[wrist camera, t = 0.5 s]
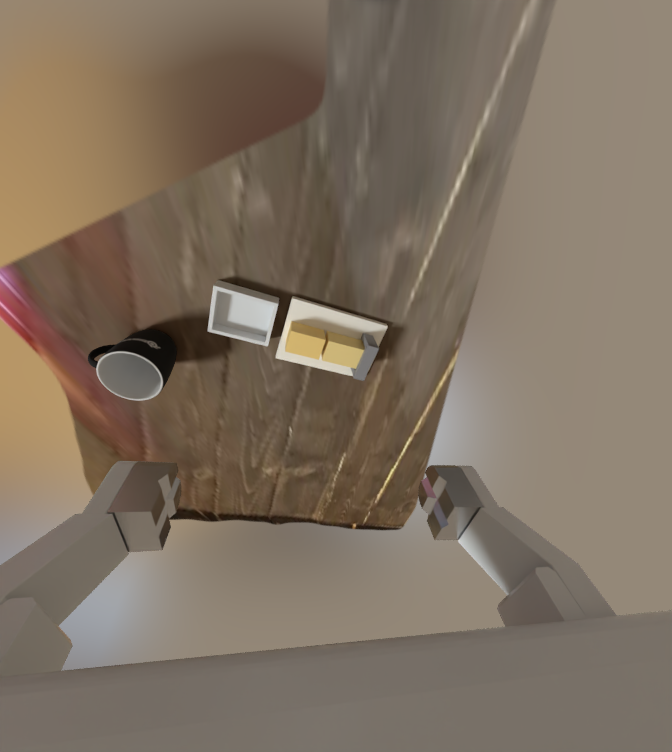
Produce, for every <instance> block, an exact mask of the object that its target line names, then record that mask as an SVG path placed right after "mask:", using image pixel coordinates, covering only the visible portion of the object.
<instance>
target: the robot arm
mask: <svg viewBox="0 0 672 752" xmlns="http://www.w3.org/2000/svg"><path fill="white" fill-rule="evenodd" d="M177 473H178V467H177V463H167V462H140V461H138V462H137V461H118V462H117V463H116V464H115V465H113V466H112V468H111V470H110V471H109V473H108V474H107V476H106V477H105V479H104V480H103V482H102V483H101V485H100V487H99V488H98V490H97V491H96V493H95V494H94V496H93V497H92V499H91V501H90V502H89V504H88V505H87V507H86V508H85V510H84V512H83V513H82V514H75V515H73V516H72V517H70V518H69V519H67V520H66V521H65V522H63V523H62V524H60V525H59V526H57V527H56V528H54V529H53V530H51V531H50V532H48V533H47V534H46V535H44V536H43V537H41V538H40V539H38V540H37V541H35V542H34V543H32V544H31V545H30V546H28V547H27V548H25V549H24V550H22V551H21V552H19V553H18V554H16V555H15V556H13V557H12V558H10V559H9V560H8V561H6V562H5V563H3V564H2V565H0V752H672V610H669V611H658V612H649V613H638V614H628V615H619V616H617V615H616V614H615V613H614V611H613V610H612V609H611V607H610V606H609V605H608V603H607V602H606V601H605V599H604V598H603V597H602V595H601V594H600V592H599V591H598V590H597V588H596V587H595V586H594V585H593V583H592V582H591V580H590V579H589V578H588V576H587V575H586V574H585V572H584V571H583V570H582V568H581V567H580V565H579V564H578V563H576V562H575V561H574V560H572V559H571V558H570V557H568V556H567V555H566V554H564V553H563V552H562V551H560V550H559V549H558V548H556V547H555V546H554V545H552V544H551V543H550V542H548V541H547V540H546V539H545V538H543V537H542V536H541V535H539V534H538V533H537V532H535V531H534V530H533V529H531V528H530V527H528V526H527V525H526V524H525V523H523V522H522V521H521V520H519V519H518V518H517V517H515V516H514V515H513V514H511V513H510V512H508V511H507V510H506V509H505V508H503V507H499V506H498V505H497V503H496V502H495V500H494V499H493V497H492V495H491V494H490V492H489V491H488V489H487V488H486V486H485V485H484V483H483V481H482V480H481V478H480V476H479V475H478V474H477V472H476V470H475V469H474V468H473V467H472V466H455V465H453V466H451V465H447V466H445V465H442V466H441V465H437V466H436V465H435V466H434V465H432V466H429V467H428V468H427V470H426V472H425V473H426V475H427V477H426V478H425V479H423V480H422V481H421V483H420V485H419V490H418V496H419V501H420V504H421V507H422V509H423V510H424V511H426V513H428V514H429V515H428V519H427V522H428V524H429V527H430V529H431V532H432V535H433V537H434V540H458V542H459V543H460V544H461V545H462V546H463V547H464V548H465V550H466V551H467V552H468V553H469V554H470V555H471V556H472V557H473V558H474V559H475V560H476V561H477V563H478V564H479V565H480V566H481V567H482V568H483V569H484V570H485V571H486V572H487V573H488V575H489V576H490V577H491V578H492V579H493V580H494V581H495V582H496V583H497V584H498V585H499V587H500V588H501V589H502V590H503V591H504V592H505V593H506V594H507V596H506V598H504V599H503V600H502V601H501V602H500V603H499V605H498V608H497V609H498V611H499V614H500V616H501V618H502V620H503V622H504V624H505V627H497V628H487V629H477V630H467V631H457V632H448V633H437V634H427V635H417V636H407V637H397V638H386V639H376V640H368V641H367V640H366V641H357V642H347V643H336V644H326V645H316V646H307V647H296V648H286V649H276V650H266V651H257V652H245V653H237V654H226V655H216V656H206V657H195V658H185V659H176V660H165V661H156V662H145V663H136V664H125V665H115V666H104V667H95V668H84V669H74V670H64V671H61V669H62V667H63V665H64V663H65V661H66V659H67V657H68V654H69V652H70V650H71V648H72V643H71V640H70V639H69V638H68V637H67V635H66V634H65V633H64V632H63V631H62V630H61V629H60V627H59V625H60V624H61V623H62V622H63V621H64V620H65V619H66V618H67V617H68V616H69V615H70V614H71V612H73V611H74V610H75V609H76V607H77V606H78V605H79V604H80V603H81V602H82V601H83V600H84V599H85V598H86V597H87V596H88V595H89V594H90V593H91V592H92V591H93V590H94V589H95V588H96V587H97V586H98V585H99V584H100V583H101V582H102V581H103V580H104V579H105V578H106V577H107V576H108V575H109V574H110V573H111V571H113V570H114V569H115V568H116V567H117V566H118V565H119V564H120V562H121V561H123V560H124V558H125V557H126V556H127V555H128V554H129V553H128V552H140V551H155V550H163V547H164V544H165V542H166V539H167V536H168V533H169V530H170V528H171V526H170V521H169V518H170V517H171V516H172V515H174V514H175V513H176V511H177V508H178V505H179V502H180V496H181V481H180V480H179V479H178V478H177V477H176V476H177Z"/></svg>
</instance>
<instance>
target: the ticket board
mask: <svg viewBox="0 0 672 752" xmlns="http://www.w3.org/2000/svg"><path fill="white" fill-rule="evenodd" d="M291 321H293V322H297V323H300V324H304V325H308V326H311V327H315V328H319V329H322V330H324V333H325V338H326V341H325V344H324V347H323V349H322V352H321V355H320V358H319V360H318V359H314V358H309V357H305V356H301V355H297V354H293V353H289V352H285V345H286V338H287V335H288V331H289V328H290V324H291ZM387 328H388V326H387V324H385V323H382V322H379V321H375V320H372V319H368V318H365V317H362V316H358V315H355V314H352V313H348V312H345V311H342V310H338V309H335V308H332V307H328V306H325V305H322V304H318V303H315V302H311V301H308V300H305V299H301V298H298V297H295V296H292V299H291V302H290V306H289V310H288V313H287V317H286V321H285V324H284V328H283V331H282V335H281V339H280V342H279V346H278V350H277V353H276V358H278V359H282V360H286V361H290V362H295V363H299V364H303V365H307V366H312V367H316V368H320V369H324V370H329V371H333V372H337V373H341V374H346V375H350V376H353V378H354V379H358V380H362V381H364V379H365V377H366V375H367V373H368V371H369V369H370V367H371V365H372V363H373V361H374V359H375V357H376V355H377V352H378V350H379V345H380V343H381V340H382V338H383V336H384V334H385V332H386V330H387Z"/></svg>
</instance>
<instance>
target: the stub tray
mask: <svg viewBox="0 0 672 752" xmlns="http://www.w3.org/2000/svg"><path fill="white" fill-rule="evenodd" d="M278 304H279V298H278V297H275V296H271V295H268V294H264V293H261V292H258V291H254V290H251V289H247V288H244V287H241V286H237V285H234V284H230V283H227V282H223V281H220V280H217V282H216V283H215V284H214V286H213V293H212V301H211V308H210V316H209V324H208V331H207V332H211V333H215V334H219V335H224V336H228V337H232V338H236V339H240V340H244V341H248V342H252V343H256V344H260V345H264V346H268V343H269V339H270V336H271V332H272V328H273V324H274V320H275V316H276V312H277V308H278Z"/></svg>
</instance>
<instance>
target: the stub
mask: <svg viewBox="0 0 672 752" xmlns="http://www.w3.org/2000/svg"><path fill="white" fill-rule="evenodd" d="M325 341H326V338H325V333H324V330H322V329H319V328H315V327H311V326H308V325H304V324H300V323H297V322H293V321H291V324H290V328H289V331H288V335H287V338H286V345H285V352H289V353H293V354H297V355H301V356H305V357H309V358H314V359H318V360H319V358H320V355H321V352H322V349H323V347H324V344H325Z"/></svg>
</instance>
